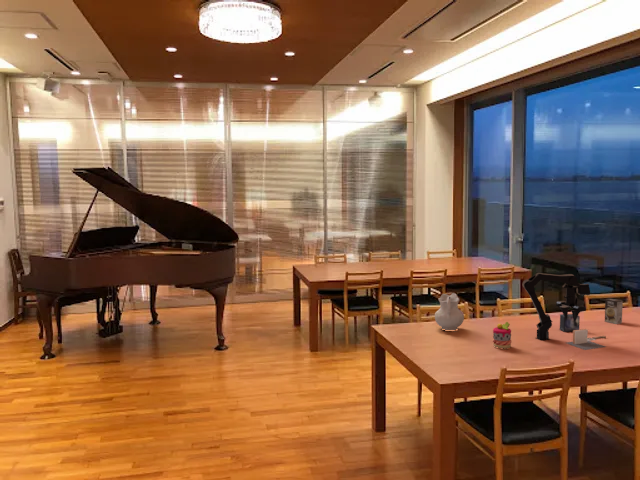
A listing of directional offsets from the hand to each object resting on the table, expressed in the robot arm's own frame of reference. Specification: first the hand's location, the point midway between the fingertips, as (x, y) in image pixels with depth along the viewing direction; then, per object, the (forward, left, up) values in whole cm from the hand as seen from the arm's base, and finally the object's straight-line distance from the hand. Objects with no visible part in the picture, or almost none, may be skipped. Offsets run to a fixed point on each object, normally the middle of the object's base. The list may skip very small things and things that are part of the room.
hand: (570, 319), depth 328 cm
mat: (0, -12, -13) cm, 18 cm away
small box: (+16, +18, -13) cm, 27 cm away
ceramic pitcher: (-54, +51, -13) cm, 75 cm away
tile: (0, -8, -12) cm, 15 cm away
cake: (-46, +5, -13) cm, 48 cm away
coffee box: (+58, +23, -13) cm, 64 cm away
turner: (+15, -4, -13) cm, 20 cm away
